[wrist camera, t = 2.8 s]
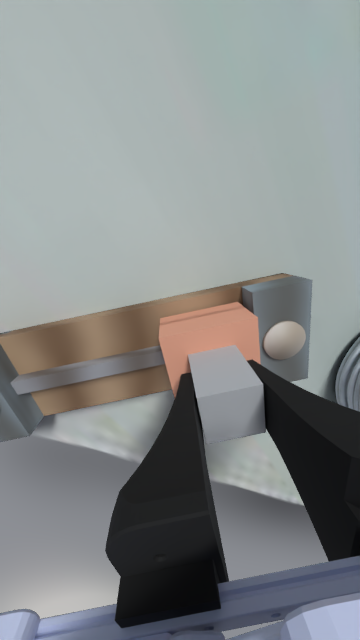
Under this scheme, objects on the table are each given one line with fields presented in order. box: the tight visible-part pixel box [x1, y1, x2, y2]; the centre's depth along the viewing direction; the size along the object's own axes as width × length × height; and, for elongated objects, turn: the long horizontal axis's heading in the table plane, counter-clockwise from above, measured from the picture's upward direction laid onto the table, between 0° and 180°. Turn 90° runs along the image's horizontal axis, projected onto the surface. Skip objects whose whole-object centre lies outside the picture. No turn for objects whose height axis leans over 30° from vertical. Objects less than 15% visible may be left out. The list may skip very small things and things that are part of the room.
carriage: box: [159, 302, 266, 444], centre depth 12 cm, size 6×6×7 cm
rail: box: [0, 273, 312, 442], centre depth 16 cm, size 27×8×4 cm, turn 101°
